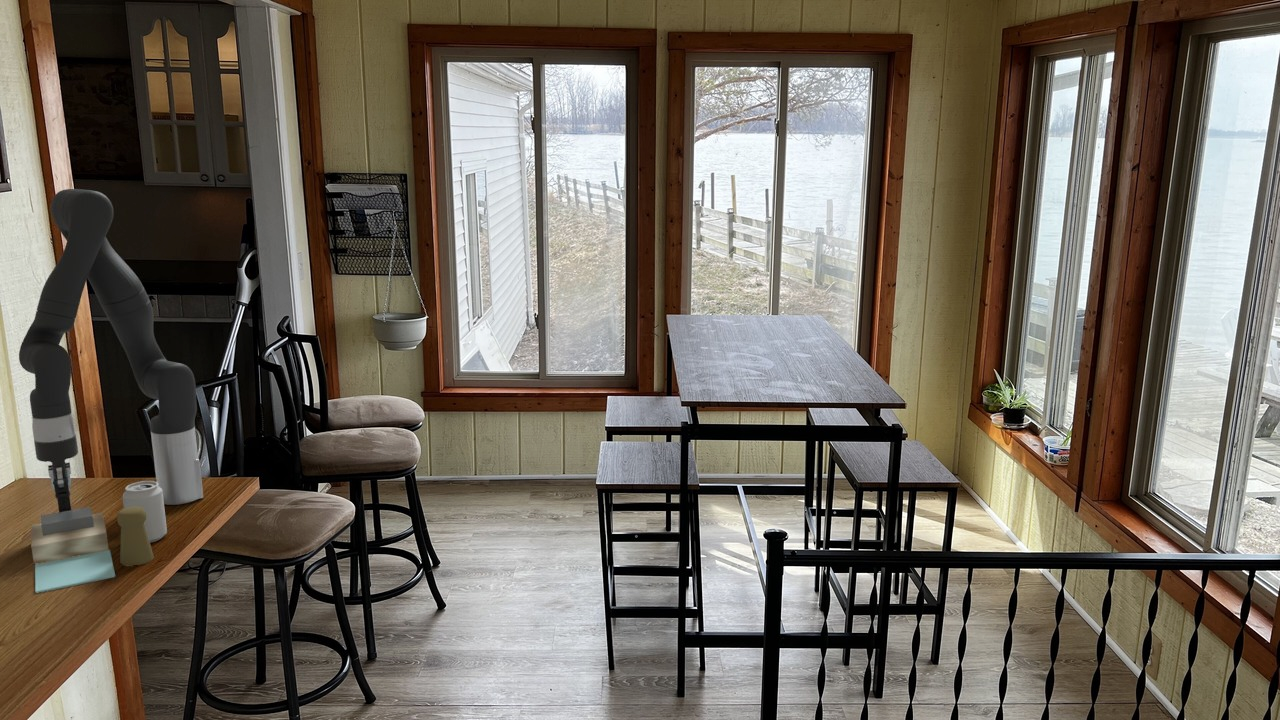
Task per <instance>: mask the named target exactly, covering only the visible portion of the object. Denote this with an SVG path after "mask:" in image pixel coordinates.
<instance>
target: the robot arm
mask: <svg viewBox="0 0 1280 720" xmlns="http://www.w3.org/2000/svg"><path fill="white" fill-rule="evenodd" d="M114 212H115V211H114V207H113V204H112V201H111V200H110V199H109V198H108V197H107V195H105V194H104V193H102V192H100V191H96V190H92V189H91V190H90V189H80V188H66V189H62V190H60V191H58V192H57V193H55V195H54V196H53V198H52V199H51V203H50V214H51V217H52V220H53V222H54V224H55V225H56V226H57V227H56V228H57V229H58V230H59V231H60V233H61V235H62V237H63V238H64V239H65V241H66V244H65V246H64V249H63V252H62V253H61V254H62V255H61V256H60V257H59V260H58V262H57V263H56V265H55V266H54V268H53V270H52V271H51V273H50V274H49V275H48V277H47V279H46V281H45V283H44V284H43V287H42V290H41V293H40V296H39V299H38V304H37V306H36V307H37V308H36V311H35V315H34V319H33V322H32V323H31V324H30V325H29V327H28V330H27V332H26V333H25V336H24V338H23V339H22V342H21V344H20V347H19V353H18V360H19V361H18V362H19V364H20V365H21V368H22V369H23V370H24V371H25V372H28V373H30V374H33V375H34V377H35V381H34V383H35V388H34V389H32V390H31V391H30V394H29V404H30V411H31V420H32V423H31V424H32V427H31V428H32V436H33V443H34V448H35V457H36V460H37V461H39V462H43V463H46V462H49V463H50V462H51V464H50V465H49V464H47V466H48V467H47V470H48V476H49V478H50V482H51V488H52V490H54V498H56V500H57V507H58V512H64V511H70V510H72V506H71V490H70V488H71V487H72V481H71V474H72V472H71V471H72V468H71V462H70V461H69V462H67V461H66V460H68V459H71V458H75V457H76V456H78V454H79V448H78V439H77V433H76V425H75V421H74V417H73V413H72V405H71V404H72V403H71V400H70V399H71V398H70V389H71V378H72V360H71V357H70V355H69V352H68V351H67V349H66V348H65V347H63V346H62V345H60V343H61V341H62V339H63V336H64V334H66V333H69V332H70V331H72V329H73V327H74V326H75V325H74V324H75V322H76V318H77V314H78V311H79V306H80V303H81V299H82V295H83V293H84V292H83V291H84V289H85V286H86V283H87V280H88V282H89V284H90V285H91V287H92V290H93V291H94V293H95V296H96V298H97V300H98V303H99V305H100V306H101V308H102V310H103V313H105V316H106V318H107V320H108V321H109V323H110V325H111V326H112V327H111V328H112V329H113V331H114V332H115V335H116V336H117V339H118V340H119V342H120V344H121V347H122V348H123V350H124V352H125V354H126V357H127V359H128V361H129V364H130V367H131V369H132V372H133V376H134V378H135V380H136V383H137V385H138V388H139V389H140V390H141V392H142V393H143V394H144V395H145V396H147V397H148V398H149V399H153V400H158V415H155V416H153V417H152V418H151V419H150V422H149V425H150V427H149V428H150V435H151V445H152V454H153V461H154V472H155V479H156V480H155V482H157V483H158V486H159V487H160V488H161V489H162V491H163V500H164V505H171V506H173V505H174V506H175V505H176V506H177V505H183V504H188V503H191V502H194V501H197V500H199V499H203V498H204V490H203V480H202V471H201V463H200V458H199V457H198V456H199V455H198V448H197V436H196V428H195V418H196V416H197V411H198V405H197V389H196V387H197V385H196V379H195V376H194V372H193V371H192V370H191V368H190V367H189V366H188V365H186V364H184V363H180V362H175V361H171V360H170V361H169V360H167V359H166V357H165V356H164V354H163V352H162V351H161V348H160V346H159V345H158V343H157V340H156V337H155V334H154V308H153V306H152V302H151V300H150V297H149V295H148V294H147V291H146V289H145V287H144V285H143V284H142V282H141V280H140V278H139V277H138V276H137V275H136V273H135V272H134V271H133V269H132V268H131V267H130V266H129V265H128V264H127V263H126V262H125V260H124V259H122V257H121V256H120V255H119V254H118V253H117V252H116V251H115V249H114V248H113V247H112V245H111V243H110V242H109V240H108V238H107V237H106V236H107V234H108V232H109V230H110V227H111V225H112V222H113V219H114Z"/></svg>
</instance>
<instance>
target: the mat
mask: <svg viewBox="0 0 1280 720" xmlns="http://www.w3.org/2000/svg"><path fill="white" fill-rule="evenodd" d="M113 564H114V563H113V558H112V553H111V549H109V550H106V551H101V552H96V553H90V554H85V555H80V556H75V557H70V558H65V559H60V560H54V561H49V562H44V563H39V564H35V565H34V576H35V577H34V580H35V583H34V584H35V586H34V588H35V590H34V591H35V594H40V593H39V592H41V593H45V591H46V592H50V591H54V590H59V589H60V590H61V589H64V588H69V587H74V586H79V585H84V584H88V583H93V582H94V583H95V582H97V581H102V580H108V579H112V578H115V577H116V573H115V568H114V565H113ZM49 590H50V591H49Z"/></svg>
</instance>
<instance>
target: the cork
mask: <svg viewBox="0 0 1280 720" xmlns="http://www.w3.org/2000/svg"><path fill="white" fill-rule="evenodd" d="M146 517H147V515H146V511H145V510H144V509H143V508H142V507H138V506H134V507H128V508H124V507H123V508H122V509H120V510H119V512H118V513H117V515H116V520H117V523H118V525H119V526H120V551H119V554H120V555H119V559H120V560H119V563H121V564H124V565H129V566H128V567H132V566H131V565H138V566H142V565H145V564H148V563H149V562H152V561H153V560H154V558H155V557H154V554H153V553H154V552H153V550H152V549H153V548H152V546H151V543H150V542H149V538H148V534H147V531H146V527H145V524H144V522H145V520H146ZM121 564H120V565H121Z"/></svg>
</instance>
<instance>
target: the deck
mask: <svg viewBox="0 0 1280 720" xmlns="http://www.w3.org/2000/svg"><path fill="white" fill-rule="evenodd" d="M92 517H93V524H94V527H90V528H84V529H79V530H73V531H68V532H62V533H57V534H51V535H46V536H43V533H42V526H41V522H40V523H36V524H31V525H30V532H31V533H30V539H31V540H30V541H31V542H30V543H31V544H30V545H31V554H32V561H33V565H34V564H35V563H41V562H46V561H53V560H58V559H63V558H68V557H72V556H78V555H85V554H90V553H96V552H101V551H106V550H110V549H109V543H108V533H107V528H106V523H105V519H104V515H103V512H99V513H98V512H97V513H92Z"/></svg>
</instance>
